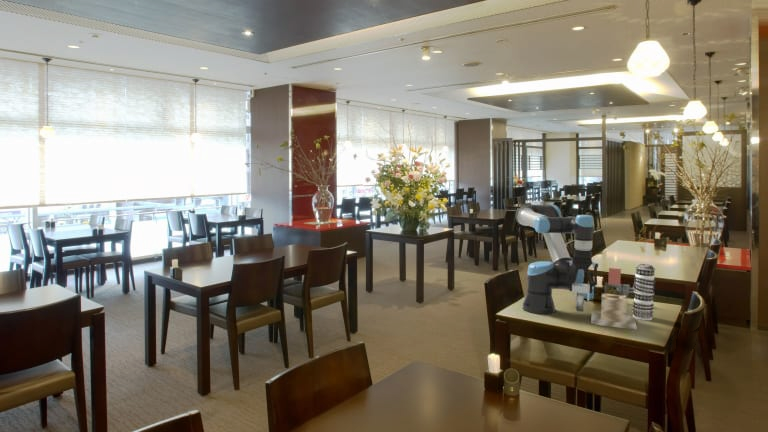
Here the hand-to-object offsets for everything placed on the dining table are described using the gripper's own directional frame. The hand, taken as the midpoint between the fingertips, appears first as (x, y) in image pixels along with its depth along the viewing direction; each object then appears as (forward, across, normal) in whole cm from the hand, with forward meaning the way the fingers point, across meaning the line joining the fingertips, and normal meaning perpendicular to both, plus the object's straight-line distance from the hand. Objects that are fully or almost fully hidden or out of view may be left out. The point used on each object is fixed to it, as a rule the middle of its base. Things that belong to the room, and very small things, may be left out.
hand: (580, 298), depth 228 cm
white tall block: (+5, 0, 0) cm, 5 cm away
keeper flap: (-9, +14, +9) cm, 19 cm away
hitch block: (+10, +14, +3) cm, 17 cm away
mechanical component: (+10, +21, +39) cm, 45 cm away
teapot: (+10, +3, +41) cm, 42 cm away
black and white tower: (+10, +27, +16) cm, 33 cm away
